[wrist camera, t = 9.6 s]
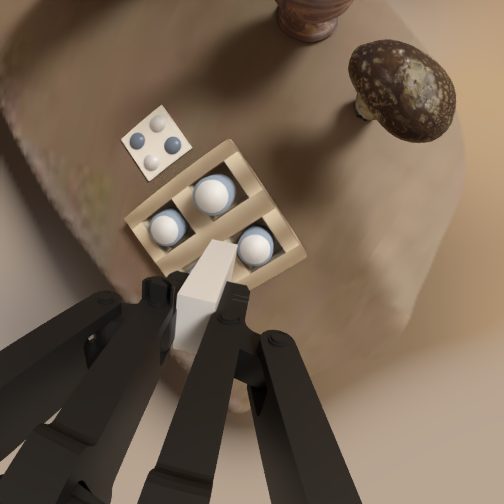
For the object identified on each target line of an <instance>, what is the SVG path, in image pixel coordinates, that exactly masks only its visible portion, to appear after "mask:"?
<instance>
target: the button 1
mask: <svg viewBox="0 0 504 504" xmlns="http://www.w3.org/2000/svg"><path fill="white" fill-rule="evenodd" d="M189 226H190V224H189V223H188V221H187V220H186V219H185V217H184V216H183V214H182V213H181V212H180V210H179V209H178V208H177V207H171V208H168V209H166V210H164V211H163V212H161V213H159V214H157V215H156V216H154V217H153V219H152V220H151V222H150V226H149V230H150V234H151V237H152V238H153V240H154V241H155V242H156V243H158V244H159V245H161V246H172V245H174V244H175V243H177V242H178V241H179V240H180V239H181V238H182V237H183V236H184V235H185V234H186V233H187V232H188V230H189Z"/></svg>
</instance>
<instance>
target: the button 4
mask: <svg viewBox="0 0 504 504" xmlns="http://www.w3.org/2000/svg"><path fill="white" fill-rule="evenodd" d="M273 245H274V237H273V234H272V232H271V231H270V230H269V229H268V228H267V227H266V226H264V225H261V224H254V225H251V226H249V227H247V228H246V229H245V230H244V231H243V233H242V235H241V238H240V240H239V242H238V247H237V251H238V255H239V257H240V258H241V260H242V261H243V262H245V263H246V264H248V265H252V266H260V265H263V264H265V263H266V262H268V261H269V259H270V258H271V256H272V254H273Z"/></svg>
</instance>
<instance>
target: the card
mask: <svg viewBox="0 0 504 504" xmlns="http://www.w3.org/2000/svg"><path fill="white" fill-rule="evenodd" d="M121 140H122V142H123V143H124V145H125V146H126V148H127V149H128V151H129V152H130V154H131V155H132V157H133V158H134V160H135V161H136V163H137V164H138V166H139V167H140V169H141V170H142V172H143V173H144V175H145V176H146V178H147V179H148V181H151V180H152V179H153V178H155V177H156V176H157V175H158V174H160V173H161V172H162V171H163V170H165V169H166V168H167V167H168V166H170V165H171V164H172V163H174V162H175V161H176V160H177V159H179V158H180V157H181V156H183V155H184V154H185V153H187V152H188V151H189V150H191V149H192V147H191V145H190V144H189V142H188V141H187V139H186V138H185V137H184V135H183V134H182V132H181V131H180V129H179V128H178V127H177V125H176V124H175V122H174V121H173V119H172V118H171V117H170V115H169V114H168V112H167V111H166V109H165V108H164V107H163V105H161V106H159V107H158V108H157V109H156V110H154V111H153V112H152V113H151V114H150V115H148V116H147V117H146V118H145V119H144V120H142V121H141V122H140V123H139V124H138V125H137V126H135V127H134V128H133V129H132V130H131V131H130V132H129V133H128V134H126V135H125V136H124V137H123V138H122V139H121Z"/></svg>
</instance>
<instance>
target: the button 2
mask: <svg viewBox="0 0 504 504" xmlns="http://www.w3.org/2000/svg"><path fill="white" fill-rule="evenodd" d="M235 197H236V186H235V184H234V182H233V181H232V180H231V179H230V178H229V177H228V176H226V175H223V174H214V175H211V176H208V177H206V178H203V179H202V180H200V181H199V182H198V183H197V184H196V186H195V188H194V191H193V201H194V204H195V206H196V207H197V209H198V210H199V211H201V212H202V213H204V214H206V215H211V216H214V215H219V214H221V213H223V212H224V211H225V210H226V209H227V208H228V207H229V206H230V205H231V204H232V203H233V201H234V200H235Z"/></svg>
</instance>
